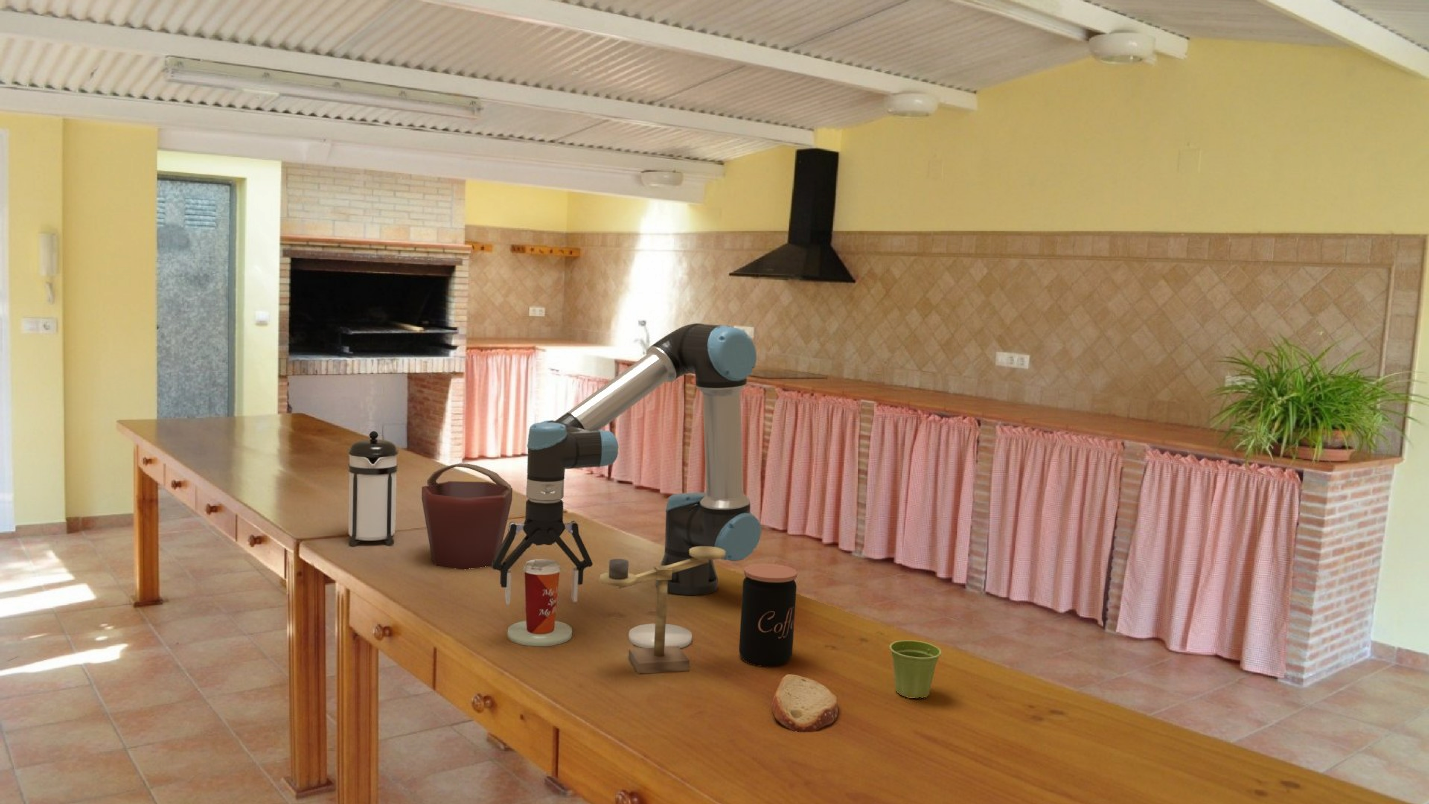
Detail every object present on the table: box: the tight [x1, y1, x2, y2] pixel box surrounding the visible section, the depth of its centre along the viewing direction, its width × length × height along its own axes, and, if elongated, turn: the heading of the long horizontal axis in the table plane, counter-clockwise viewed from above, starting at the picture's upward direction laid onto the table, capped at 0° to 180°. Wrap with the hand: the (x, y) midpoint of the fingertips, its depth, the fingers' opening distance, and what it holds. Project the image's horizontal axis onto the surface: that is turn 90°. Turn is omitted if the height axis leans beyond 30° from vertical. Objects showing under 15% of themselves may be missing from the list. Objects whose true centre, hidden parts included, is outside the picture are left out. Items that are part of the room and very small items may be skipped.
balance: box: [599, 546, 726, 675], centre depth 200 cm, size 24×8×22 cm, turn 108°
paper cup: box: [522, 558, 562, 634], centre depth 214 cm, size 8×8×14 cm
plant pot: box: [889, 639, 942, 699], centre depth 193 cm, size 9×9×9 cm
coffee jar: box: [738, 562, 798, 668], centre depth 207 cm, size 11×11×18 cm
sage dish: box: [507, 620, 573, 647], centre depth 214 cm, size 13×13×1 cm
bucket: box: [421, 462, 513, 571], centre depth 266 cm, size 24×22×25 cm
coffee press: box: [347, 430, 399, 547], centre depth 281 cm, size 17×16×30 cm
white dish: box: [628, 623, 693, 649], centre depth 216 cm, size 13×13×1 cm
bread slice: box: [770, 674, 839, 733], centre depth 185 cm, size 18×18×4 cm
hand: (541, 601), depth 214 cm, fingers open, 13 cm apart
